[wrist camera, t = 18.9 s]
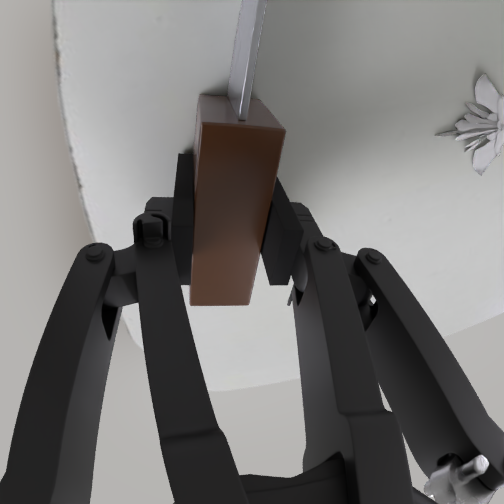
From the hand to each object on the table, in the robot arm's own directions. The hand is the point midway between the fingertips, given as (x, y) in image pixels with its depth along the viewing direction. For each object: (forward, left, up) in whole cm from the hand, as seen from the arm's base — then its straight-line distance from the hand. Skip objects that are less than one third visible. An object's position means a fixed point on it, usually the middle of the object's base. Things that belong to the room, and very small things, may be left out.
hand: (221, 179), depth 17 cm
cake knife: (0, +8, 0) cm, 8 cm away
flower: (+16, +6, -1) cm, 17 cm away
